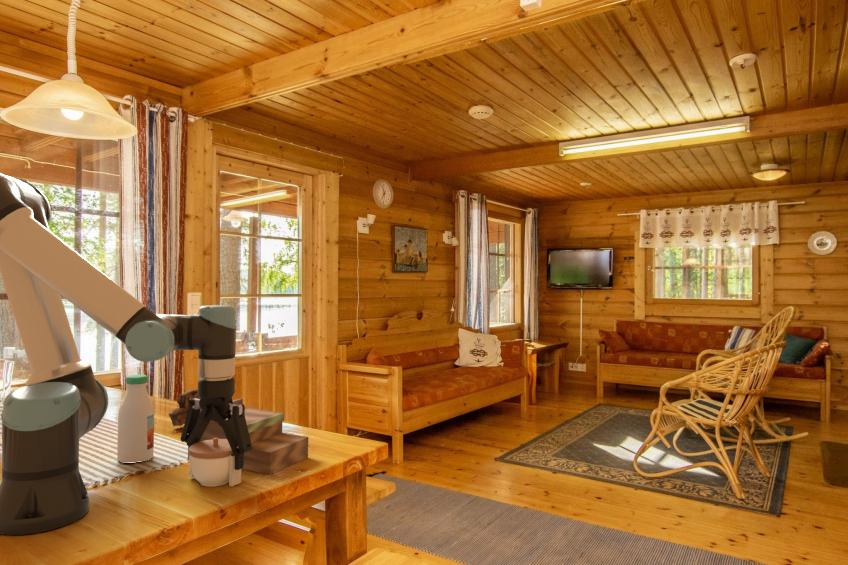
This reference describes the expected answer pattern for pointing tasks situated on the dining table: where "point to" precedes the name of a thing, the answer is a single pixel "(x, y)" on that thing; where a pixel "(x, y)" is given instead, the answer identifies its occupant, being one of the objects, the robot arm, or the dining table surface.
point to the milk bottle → (135, 422)
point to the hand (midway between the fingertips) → (214, 479)
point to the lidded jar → (210, 461)
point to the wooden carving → (182, 407)
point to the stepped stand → (265, 441)
